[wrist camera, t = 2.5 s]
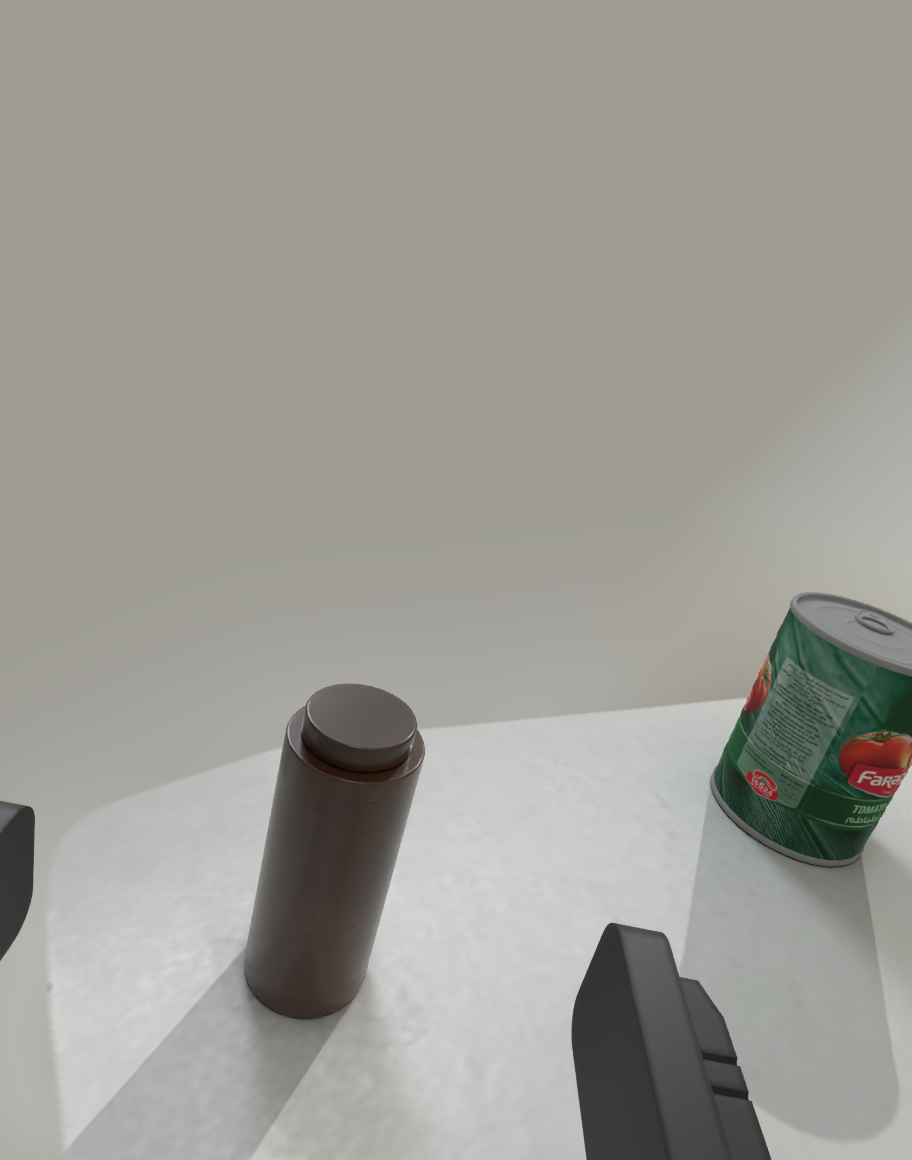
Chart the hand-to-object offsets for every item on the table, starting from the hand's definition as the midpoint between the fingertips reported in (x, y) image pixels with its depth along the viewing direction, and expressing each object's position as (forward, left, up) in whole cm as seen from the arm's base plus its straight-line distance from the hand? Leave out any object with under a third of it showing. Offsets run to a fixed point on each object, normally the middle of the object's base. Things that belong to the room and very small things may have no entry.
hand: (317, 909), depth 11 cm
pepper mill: (-5, +9, -14) cm, 17 cm away
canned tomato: (+7, +33, -14) cm, 36 cm away
